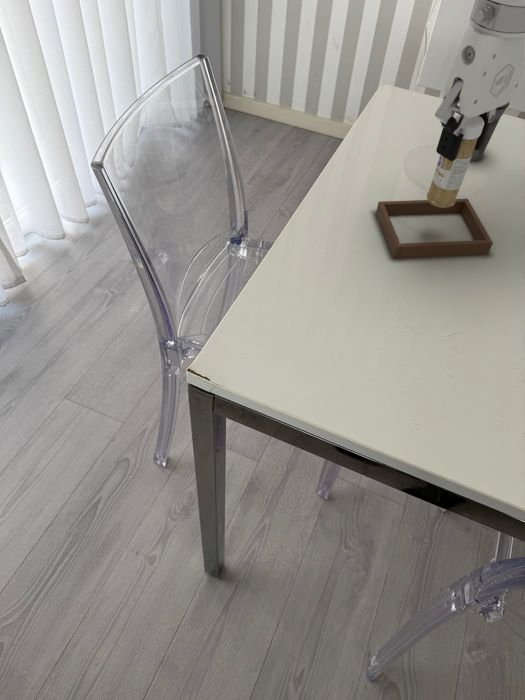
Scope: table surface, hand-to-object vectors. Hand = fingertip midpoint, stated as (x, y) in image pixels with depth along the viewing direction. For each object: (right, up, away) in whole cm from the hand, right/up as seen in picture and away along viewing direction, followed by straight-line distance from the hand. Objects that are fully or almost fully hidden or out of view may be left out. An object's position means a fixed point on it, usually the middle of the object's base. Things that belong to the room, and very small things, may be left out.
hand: (458, 149), depth 82 cm
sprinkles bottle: (0, -6, +7) cm, 9 cm away
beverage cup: (+12, +8, +28) cm, 32 cm away
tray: (-1, -10, +12) cm, 16 cm away
